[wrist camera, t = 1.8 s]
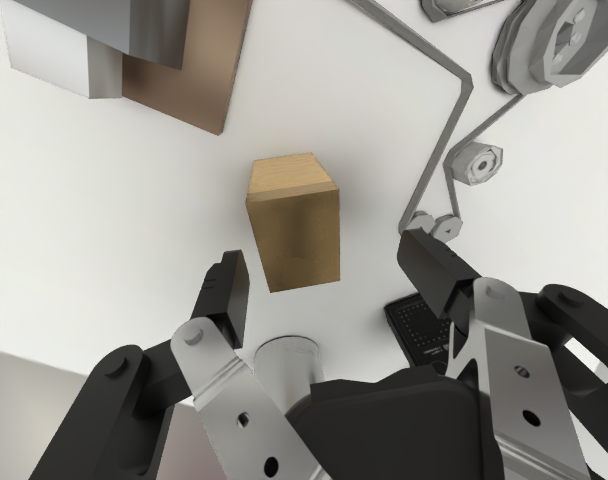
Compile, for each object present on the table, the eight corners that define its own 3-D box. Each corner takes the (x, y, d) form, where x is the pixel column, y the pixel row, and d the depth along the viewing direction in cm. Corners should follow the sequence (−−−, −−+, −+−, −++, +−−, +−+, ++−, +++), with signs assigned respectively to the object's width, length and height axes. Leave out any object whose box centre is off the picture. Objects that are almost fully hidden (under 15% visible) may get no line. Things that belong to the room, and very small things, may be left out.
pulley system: (614, -453, 8) (264, -151, 10) (968, -986, 4) (273, -315, 6) (528, 180, 23) (400, 249, 25) (583, 197, 19) (428, 277, 21)
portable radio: (441, 282, 28) (952, 834, 7) (441, 309, 31) (788, 736, 10) (382, 304, 28) (685, 858, 8) (389, 328, 32) (613, 759, 11)
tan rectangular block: (316, 220, 20) (340, 280, 14) (269, 227, 20) (270, 292, 13) (311, 152, 17) (339, 189, 10) (254, 160, 17) (245, 203, 10)
